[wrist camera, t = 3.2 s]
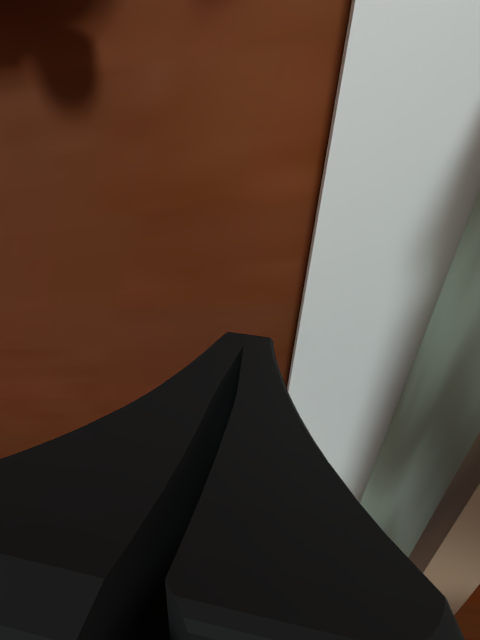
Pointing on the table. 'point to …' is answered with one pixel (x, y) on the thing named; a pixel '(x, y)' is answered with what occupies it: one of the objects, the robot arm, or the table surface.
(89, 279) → the table surface
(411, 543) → the gate
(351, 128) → the gate board
